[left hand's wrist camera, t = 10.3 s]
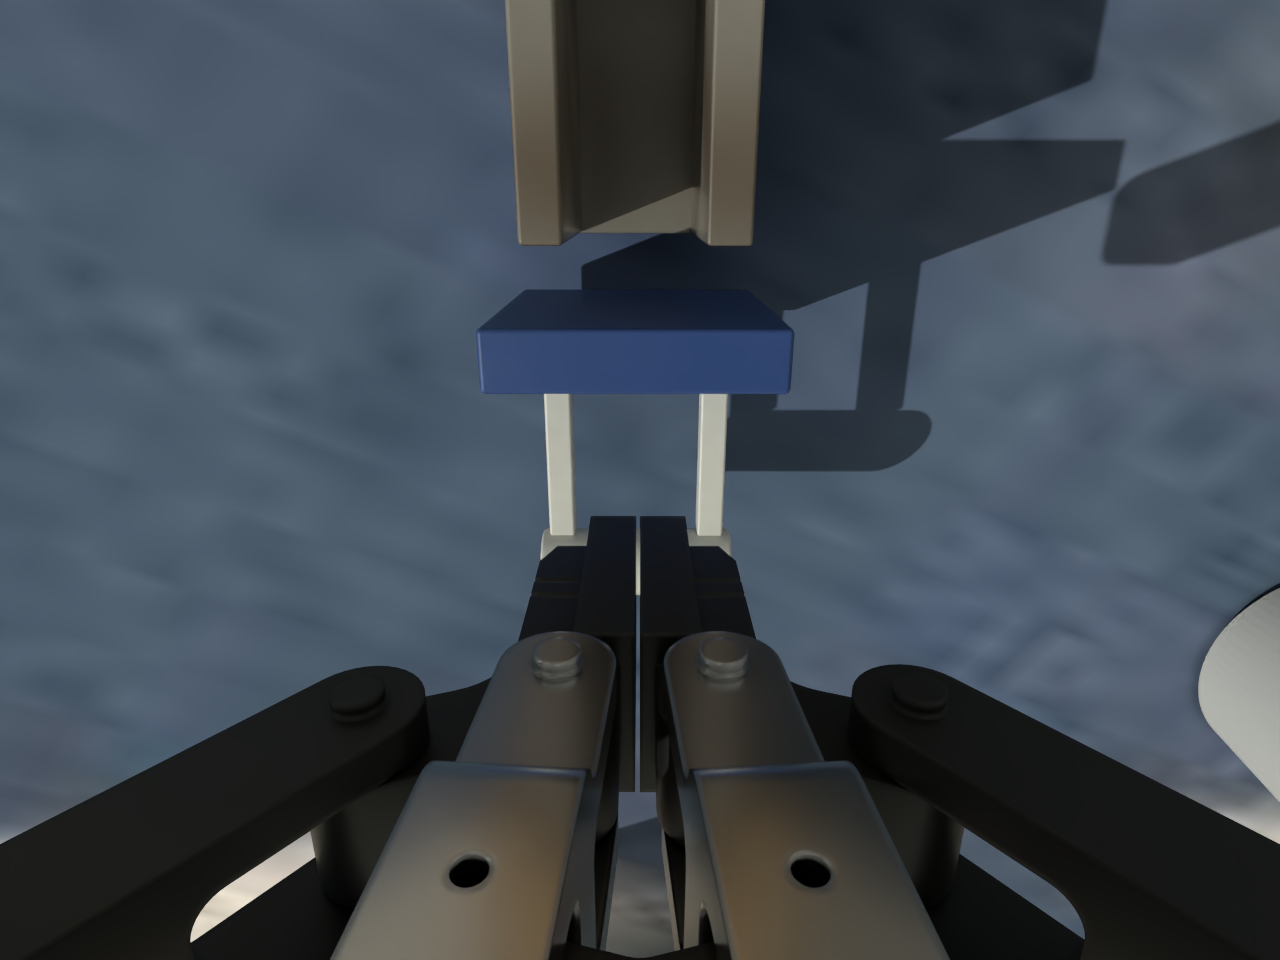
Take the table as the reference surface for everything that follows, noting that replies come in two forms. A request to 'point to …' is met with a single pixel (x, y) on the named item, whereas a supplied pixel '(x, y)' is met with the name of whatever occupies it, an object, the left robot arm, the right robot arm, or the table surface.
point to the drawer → (635, 221)
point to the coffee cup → (1247, 688)
